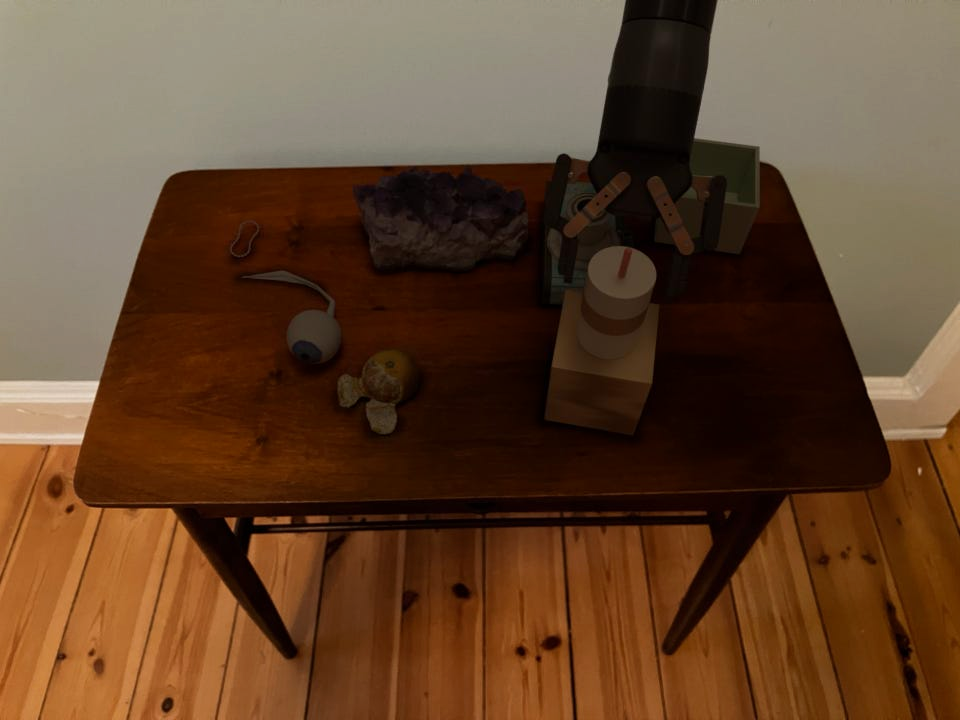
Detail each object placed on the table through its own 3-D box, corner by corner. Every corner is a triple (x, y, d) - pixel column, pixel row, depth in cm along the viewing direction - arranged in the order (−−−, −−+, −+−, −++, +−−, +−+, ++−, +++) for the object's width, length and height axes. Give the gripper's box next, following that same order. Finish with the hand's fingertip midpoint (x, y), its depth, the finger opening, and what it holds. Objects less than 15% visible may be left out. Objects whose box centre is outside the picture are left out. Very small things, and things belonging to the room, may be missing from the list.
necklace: (227, 255, 87) (226, 252, 86) (244, 220, 89) (243, 217, 88) (246, 259, 86) (245, 257, 86) (263, 224, 89) (262, 222, 88)
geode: (524, 200, 92) (533, 144, 83) (529, 280, 87) (538, 230, 78) (360, 199, 91) (349, 142, 82) (355, 279, 86) (343, 229, 77)
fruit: (327, 393, 76) (321, 375, 73) (385, 344, 80) (381, 324, 77) (383, 441, 73) (379, 424, 70) (441, 387, 77) (439, 368, 74)
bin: (740, 194, 92) (759, 146, 85) (739, 254, 86) (759, 207, 80) (659, 183, 93) (672, 135, 87) (653, 241, 88) (666, 194, 81)
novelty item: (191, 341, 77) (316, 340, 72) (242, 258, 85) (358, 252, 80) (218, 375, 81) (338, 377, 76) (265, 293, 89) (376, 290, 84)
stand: (641, 361, 78) (659, 304, 70) (633, 435, 74) (652, 383, 65) (557, 347, 79) (565, 289, 71) (543, 420, 75) (551, 366, 66)
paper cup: (640, 315, 69) (669, 216, 58) (635, 365, 66) (664, 271, 55) (580, 305, 70) (597, 206, 59) (572, 354, 67) (589, 259, 56)
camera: (549, 140, 83) (638, 144, 83) (544, 202, 91) (625, 205, 91) (548, 251, 74) (647, 255, 74) (541, 308, 82) (632, 312, 82)
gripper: (564, 71, 56) (531, 281, 60) (755, 94, 55) (710, 309, 58) (567, 87, 64) (538, 274, 67) (736, 108, 62) (697, 299, 65)
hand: (617, 290), depth 63 cm, fingers open, 8 cm apart
